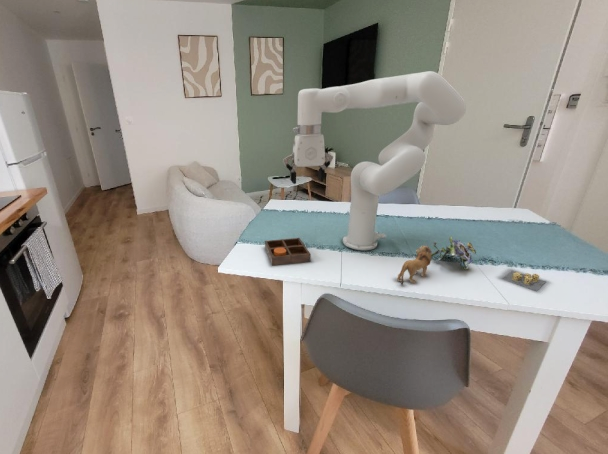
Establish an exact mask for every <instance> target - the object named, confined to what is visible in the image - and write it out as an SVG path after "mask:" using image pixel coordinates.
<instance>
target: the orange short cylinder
mask: <svg viewBox="0 0 608 454" xmlns="http://www.w3.org/2000/svg"><path fill="white" fill-rule="evenodd" d="M285 255H286V249H285V248H275V249H274V257H275V256H285Z"/></svg>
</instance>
